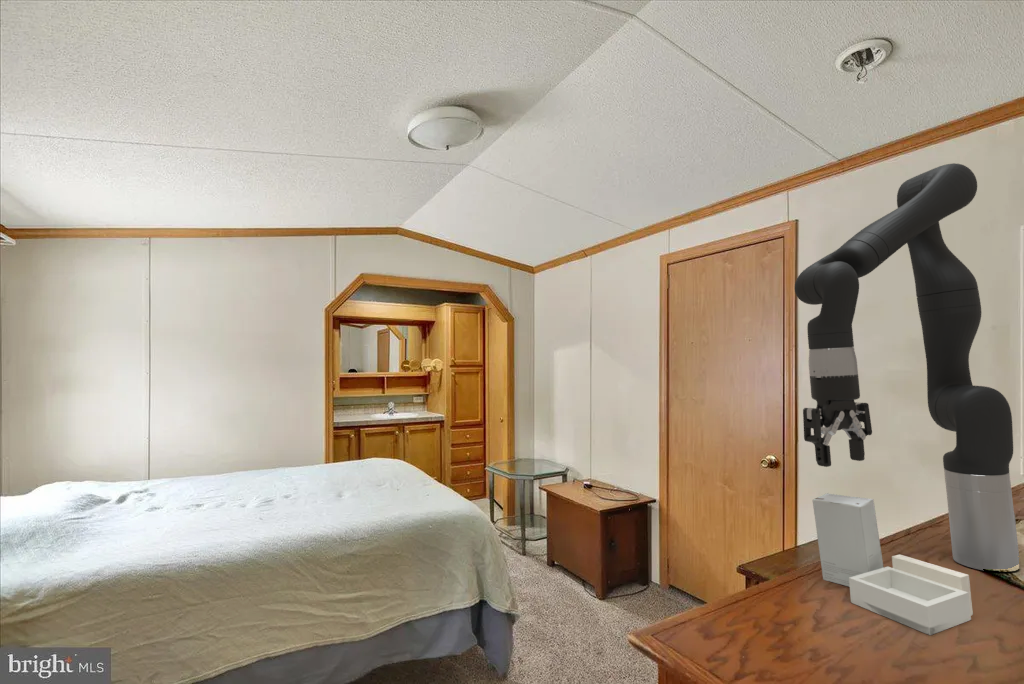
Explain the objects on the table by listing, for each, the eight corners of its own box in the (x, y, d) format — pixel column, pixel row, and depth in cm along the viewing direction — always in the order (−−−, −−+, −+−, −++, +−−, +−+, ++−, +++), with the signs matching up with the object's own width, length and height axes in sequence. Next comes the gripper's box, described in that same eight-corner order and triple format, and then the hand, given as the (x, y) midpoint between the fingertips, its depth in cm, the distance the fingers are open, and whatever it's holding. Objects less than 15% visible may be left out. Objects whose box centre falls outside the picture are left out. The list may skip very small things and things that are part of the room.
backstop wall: (902, 590, 88) (899, 554, 88) (972, 615, 78) (968, 574, 79) (895, 592, 87) (891, 556, 87) (964, 618, 77) (960, 577, 78)
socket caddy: (890, 590, 88) (887, 566, 88) (971, 619, 77) (968, 592, 77) (851, 602, 84) (848, 577, 84) (930, 635, 73) (927, 606, 73)
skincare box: (886, 585, 90) (878, 498, 91) (870, 595, 86) (862, 505, 87) (834, 570, 97) (827, 491, 98) (818, 579, 93) (811, 497, 94)
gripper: (841, 371, 100) (848, 455, 99) (786, 375, 94) (794, 464, 94) (880, 370, 93) (889, 461, 92) (824, 375, 87) (832, 471, 87)
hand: (841, 463), depth 93 cm, fingers open, 8 cm apart
